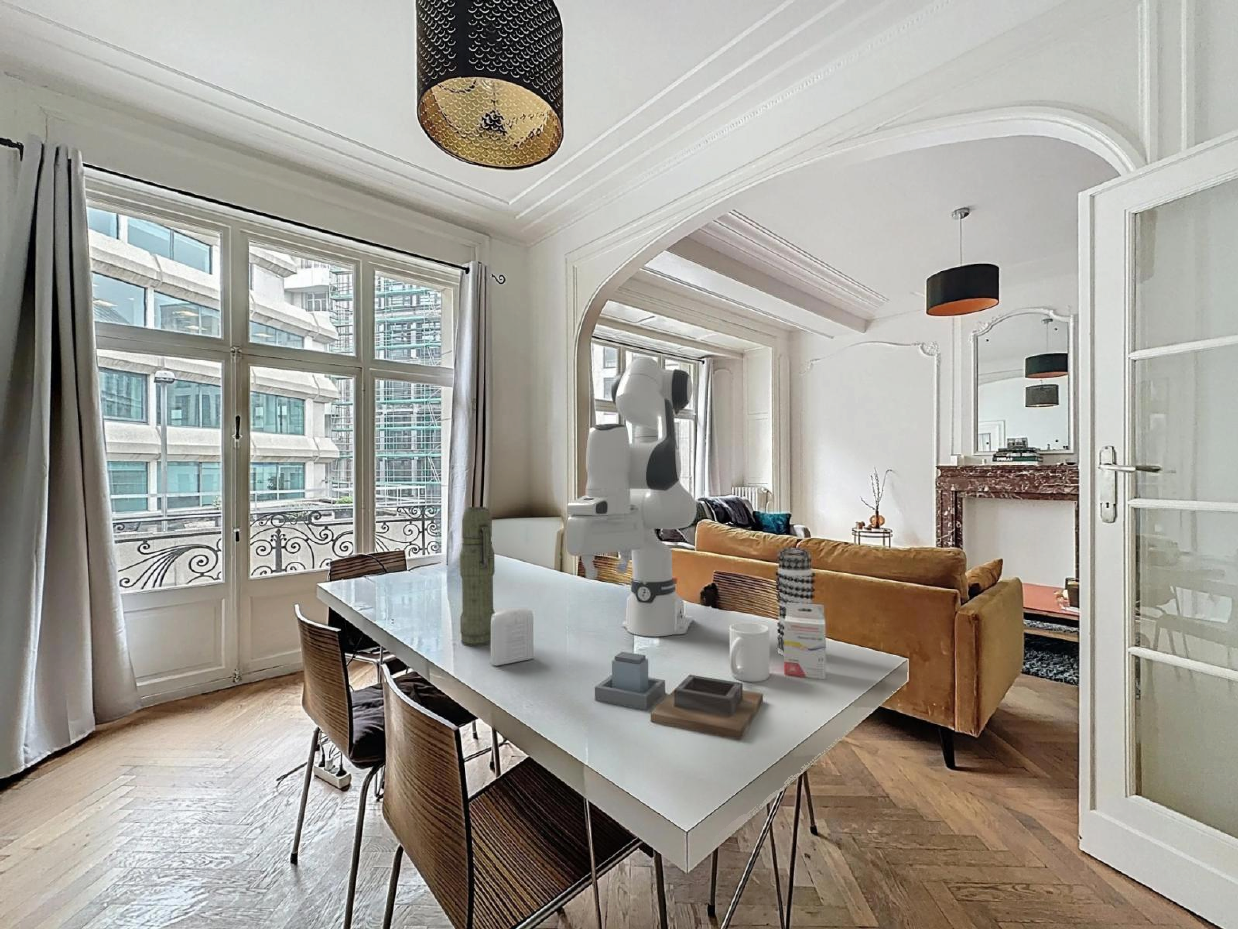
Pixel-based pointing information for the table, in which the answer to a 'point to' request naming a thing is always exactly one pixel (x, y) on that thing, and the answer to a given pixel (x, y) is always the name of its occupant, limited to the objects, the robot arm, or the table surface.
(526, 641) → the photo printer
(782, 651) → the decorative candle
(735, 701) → the dock
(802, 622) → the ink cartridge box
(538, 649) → the table surface
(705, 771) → the table surface
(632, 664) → the plug
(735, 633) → the mug
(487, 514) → the thermos
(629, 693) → the grey rectangular frame
